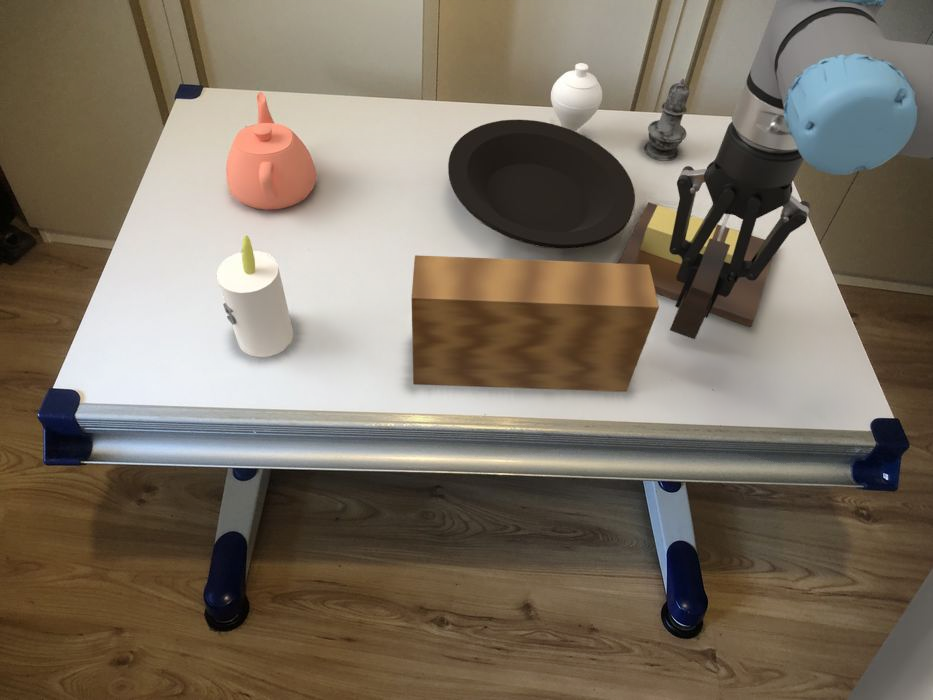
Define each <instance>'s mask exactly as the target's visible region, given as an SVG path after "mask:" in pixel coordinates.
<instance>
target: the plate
mask: <svg viewBox="0 0 933 700" xmlns="http://www.w3.org/2000/svg"><path fill="white" fill-rule="evenodd" d="M447 165H448V166H447V170H448V171H447V173H448V180H449V184H450V186H451V189H452V191H453V193H454V195H455V196H456V198H457V199H458V201H459V202H460V203H461V205H462V206H463V207H464V208H465V210H467V211H468V213H470V214H471V215H472V216H473V217H474V218H476V219H477V220H478V221H479V222H480V223H482V224H483V225H485V226H486V227H488V228H489V229H491V230H493V231H495V232H497V233H498V234H501V235H503V236H505V237H508V238H510V239H512V240H514V241H517V242H520V243H524V244H527V245H531V246H536V247H540V248H548V249H555V250H557V249H558V250H559V249H561V250H571V249H574V250H575V249H583V248H588V247H593V246H597V245H599V244H602V243H604V242H607V241H608V240H610V239H612V238H614V237H616V236H617V235H618V234H619V233H621V232H622V230H624V229H625V228H626V226H627V225H628V223H629V222H630V221H631V218H632V215H633V212H634V209H635V205H636V204H635V203H636V194H635V193H636V192H635V188H634V185H633V181H632V179H631V177H630V175H629V174H628V172H627V170H626V169H625V167H624V166H623V165H622V164H621V162H619V160H618V159H617V157H615V156H614V155H613V154H612V153H610V152H609V150H607V149H606V148H604V147H603V146H601V144H599V143H598V142H596V141H594V140H593V139H592V138H589V137H588V136H586V135H584V134H581V133H580V132H577V131H572V130H570V129H567V128H564V127H563V126H562V125H559V124H554V123H549V122H545V121H539V120H533V119H532V120H531V119H502V120H496V121H492V122H487V123H484V124H481V125H479V126H476V127H474V128H473V129H471V130H469V131H467V132H466V133H464V135H462V136H461V137H460V138H459V139H458V140H457V141H456V142H455V144H454V146H453V147H452V149H451V150H450V154H449V157H448V164H447Z"/></svg>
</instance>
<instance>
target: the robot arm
mask: <svg viewBox="0 0 933 700" xmlns="http://www.w3.org/2000/svg"><path fill="white" fill-rule="evenodd" d="M886 2H887V0H775V3H774V6H773V8H772V10H771V11H772V12H771V14H770V16H769V19H768V22H767V24H766V28H765V30H764V33H763V36H762V37H761V41H760V43H759V46H758V49H757V51H756V54H755V56H754V58H753V62H752V65H751V67H750V69H749V73H748V75H747V77H746V79H745V80H744V84H743V86H742V89H741V92H740V94H739V97H738V100H737V102H736V105H735V109H734V111H733V113H732V115H731V122H730V123H729V124H728V126H727V128H726V131H725V132H724V133H725V134H724V135H723V139H722V141H721V144H720V146H719V149H718V151H717V154H716V156H715V158H714V160H712V161H711V162H710V163H709V164H708V165H707V167H706V168H703V169H701V168H700V169H694V168H693V166H690V165H686V166H684V167H683V168H682V170H681V173H680V175H679V176H678V179H677V180H676V187H677V192H678V197H679V200H678V205H677V210H676V211H677V214H676V219H675V224H674V229H673V234H672V239H671V244H670V248H669V251H670V253H671V254H673V255H679V256H680V257H681V258H682V263H681V266H680V268H679V271H678V273H677V276H676V279H677V281H680V282H683V283H684V286H683V288H682V290H681V293H680V295H679V298H678V300H677V301H676V303H675V305H674V306H675V308H677V309H679V306H680V304H681V301H682V299H683V297H684V294H685V292H686V290H687V291H689V289H690V287H691V284H692V282H693V279H694V277H695V275H696V272H697V270H698V268H699V265H700V263H701V260H702V257H703V254H700V251H701V250H702V248H703V246H704V245H705V243H706V242H707V240H708V238H709V237H710V235H711V233H712V232H713V230H714V228H715V227H716V225H717V224H718V225H719V223H720V221H721V220H722V219H723V217H724V215H726V214H730V215H731V216H735V217H737V218H738V219H741V220H742V221H741V224H740V225H741V226H740V227H739V231H740V232H739V235H738V239H737V242H736V246H735V249H734V253H733V256H732V260H731V263H727V262H724V264H723V267H722V269H721V272H720V275H719V278H718V281H717V284H716V287H715V289H714V292H713V295H712V297H711V299H712V301H711V304H710V307H709V310H708V312H707V314H706V316H705V318H706V319H707V318H708V317H709V315H710V314H711V313H710V311H711V309H712V306H713V304H714V302H715V300H716V298H717V296H718V295H721V296H723V297H727V296H728V295H729V294H730V292H731V290H732V288H733V286H734V284H735V283H736V282H737V280H738V278H740V277H746V278H747V279H748V280H751V281H754V280H756V279H757V278H758V276H759V275H760V274H761V272H762V271H763V270H764V268H765V267H766V265H767V264H768V263H769V261H770V260H771V259H772V260H773V258H774V256H775V255H776V253H777V252H778V251H779V249H780V248H781V246H782V245H783V244H784V242H785V241H786V240H787V238H788V237H789V236H790V234H792V233H793V232H794V231H796V230H797V229H799V228H800V227H802V226H803V225H804V224H806V223H807V221H808V216H809V212H810V209H811V204H810V202H808V201H806V200H801V201H799V200H798V199H797V198H796V197H795V196H794V195H792V193H793V182H794V179H795V177H796V176H797V174H798V172H799V170H800V168H801V165H802V164H803V162H806V163H807V164H808V165H809V166H810V167H812V168H813V169H815V170H817V171H820V172H823V173H824V174H829V175H835V176H848V175H852V174H853V173H856V172H861V171H864V170H867V171H869V170H873V169H875V168H879V167H880V166H882V165H884V164H885V163H887V162H888V161H889V160H891V159H892V158H894V157H895V156H896V155H897V156H905V157H910V158H911V157H913V158H920V159H931V160H933V45H932V44H925V43H924V44H923V43H915V42H907V41H905V42H904V41H899V40H890V39H887V38H885V36H884V34H883V32H882V30H881V28H880V26H879V24H878V22H877V19H876V18H877V16H878V14H879V11H880V10H881V9H882V7H884V6H885V5H886ZM704 183H705V186H706V188H707V191H708V194H709V196H710V199H711V201H712V205H711V206H710V208H709V210H708V212H707V213H706V216H704V219H702V220H703V222H702V224H701V225H700V227H699V229H698V231H697V232H696V234H695V236H694V237H693V239H692V241H690V242H688V241H687V240H685V239H686V234H687V230H688V225H689V221H690V217H691V216H692V211H693V207H694V203H695V199H696V194H697V192H699V191H700V190H701V187H702V184H704ZM781 207H782V209H781V212H780V218H779V219H778V221H776V223H775V225H774V226H773V228H772V229H771V230H770V232H769V234H767V236H766V238H764V240H765V241H764V242H763V244H762V245H761V246H760V248H759V249H758V251H757V252H756V254H755V255H754V256H753V258H752V259H751V261H744V258H745V255H746V252H747V248H748V245H749V242H750V239H751V235H752V236H753V232H754V229H755V226H756V223H757V219H760V218H761V217H763V216H765V215H767V214H769V213H772V212H774V211H775V210H778V209H779V208H781ZM730 215H729V216H730ZM845 700H933V568H932V569H931V570H930V572H929V573H928V575H927V576H926V578H925V580H924V581H923V582H922V584H921V586H920V587H919V588H918V590H917V591H916V593H915V595H914V596H913V597H912V599H911V601H910V602H909V604H908V605H907V607H906V608H905V610H904V611H903V613H902V614H901V616H900V617H899V619H898V620H897V622H896V624H895V625H894V626H893V628H892V629H891V631H890V633H889V634H888V636H887V637H886V639H885V640H884V642H883V643H882V645H881V646H880V648H879V649H878V651H877V652H876V653H875V655H874V657H873V658H872V660H871V661H870V662H869V664H868V666H867V667H866V669H865V670H864V672H863V674H862V675H861V676H860V678H859V680H858V681H857V683H856V684H855V686H853V688H852V690H851V692H850V694H849V695H848V696H847V698H846V699H845Z"/></svg>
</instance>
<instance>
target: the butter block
mask: <svg viewBox="0 0 933 700" xmlns="http://www.w3.org/2000/svg"><path fill="white" fill-rule="evenodd" d="M657 205H658V206H657V208H656V210H655V212H654V214H653V216H652V218H651V220H650V222H649V224H648V226H647V229H646V232H645V235H644V238H643V241H642V244H641V247H640V250H641V251H644V252H647V253H650V254H653V255H656V256H659V257H662V258H665V259H668V260H670V261H673V262H676V263H679V264H681V263H682V258H681V257H680V256H679V255H673V254H671V253H670V251H669V248H670V244H671V239H672V234H673V229H674V224H675V219H676V214H677V210H675V209H672V208H668V207H665V206H661V205H659V204H657ZM674 210H675V211H674ZM703 220H704V219H703V218H699V217H696V216H693V215H691V217H690V221H689V225H688V230H687V234H686V239H685V240H687V241H688V242H690V241H692V239H693V237H694V236H695V234H696V232H697V231H698V229H699V227H700V225H701V224H702V222H703ZM716 227H717V225H716ZM716 227H715V228H714V230H713V232H712V233H711V235H710V237H709V238H708V240H707V242H706V243H705V245H704V246H703V248H702V250H701V251H700V254H703V253H704V251H705V248H706V246H707V244H708V241H709V239H710V238H711V239H712V238H713V235H714V232H715V230H716Z"/></svg>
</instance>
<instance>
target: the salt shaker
mask: <svg viewBox="0 0 933 700" xmlns="http://www.w3.org/2000/svg"><path fill="white" fill-rule="evenodd" d="M690 92H691V90H690V87H689V86H688V85H687V84H686V81H685V79H684V78H682V79H681V80H680V81H679V82H676V83H674V84H672V85H671V86H670V88H669V90H668V94H667V97H666V100H665V102H663V103H662V105H661V108H662V112H661V116H660V118H659V119H658V120H657V119H656V120H654V121H651V122H650V123H649V124H648V126H647V131H648V139H649V141H647V142H646V143H645V145H644V147H643V150H644V153H645V154H646V155H647V156H649V158H651V159H654V160H657V161H662V162H669V161H673V160H675V159H676V158H677V157H678V155H679V150H678V147H679V146H680V145H681V144H682V142H683V141H684V140H685V139H686V137H687V130H686V129H685V127H683V125H681V123H682V120H683V116H684V115H685V114H686V113H687V111H688V109H687V107H686V105H687V102H688V99H689V96H690Z"/></svg>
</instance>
